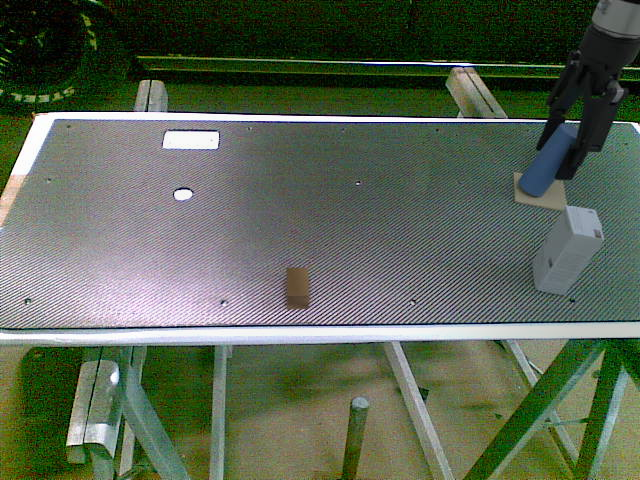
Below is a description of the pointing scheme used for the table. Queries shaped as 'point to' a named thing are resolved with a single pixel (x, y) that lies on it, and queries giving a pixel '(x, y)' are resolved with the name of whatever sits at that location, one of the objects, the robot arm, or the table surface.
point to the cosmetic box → (567, 250)
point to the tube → (548, 161)
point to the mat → (550, 199)
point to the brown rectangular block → (297, 288)
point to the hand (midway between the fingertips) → (552, 163)
